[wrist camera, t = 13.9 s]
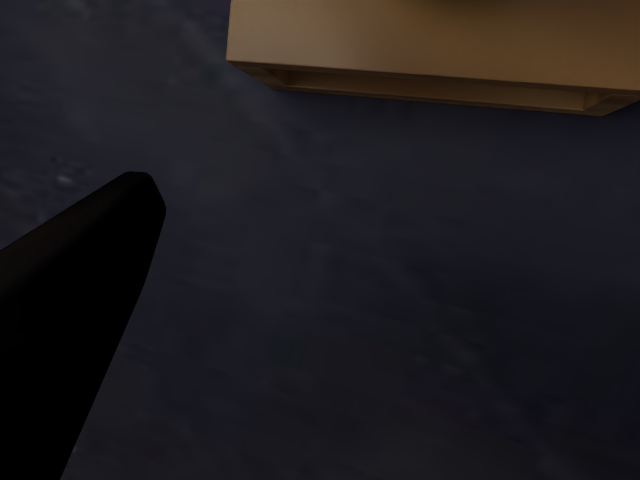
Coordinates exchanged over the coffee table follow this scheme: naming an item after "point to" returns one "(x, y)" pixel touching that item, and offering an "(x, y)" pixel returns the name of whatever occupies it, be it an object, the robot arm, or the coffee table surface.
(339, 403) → the coffee table surface
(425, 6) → the tan rectangular block
